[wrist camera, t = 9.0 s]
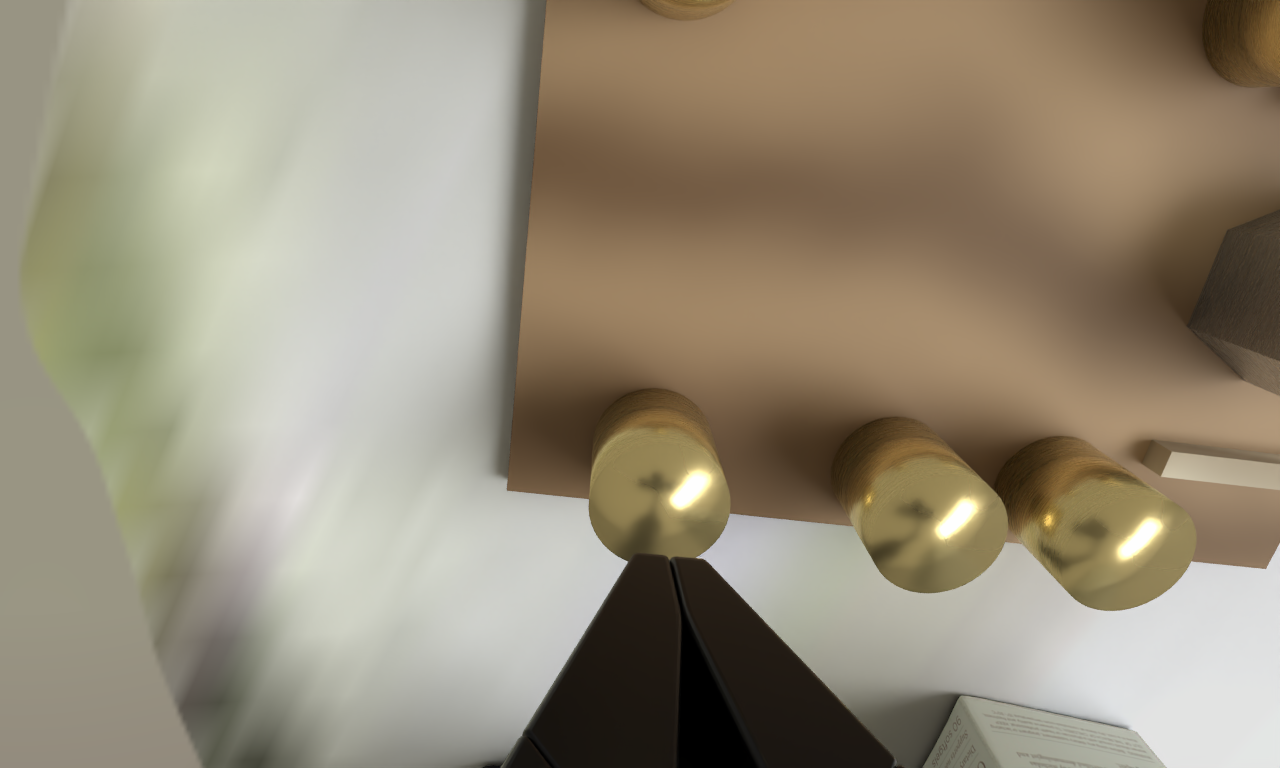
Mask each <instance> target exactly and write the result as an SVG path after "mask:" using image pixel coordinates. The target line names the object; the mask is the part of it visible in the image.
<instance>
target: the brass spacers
mask: <svg viewBox="0 0 1280 768" xmlns="http://www.w3.org/2000/svg"><path fill="white" fill-rule="evenodd" d="M639 1H640V2H641V3H642V4H643V5H644V6H646V7H647V8H648V9H650V10H651V11H653V12H655V13H657V14H659V15H661V16H664V17H666V18H670V19H674V20H683V21H690V20H699V19H704V18H707V17H710V16H712V15H715V14H717V13H719V12H720V11H722V10H724V9H725V8H727V7H728V6H729V5H731V4H732V3H733V2H734V1H735V0H639ZM1202 40H1203V45H1204V50H1205V53H1206V56H1207V59H1208V61H1209V63H1210V65H1211V66H1212V67H1213V69H1214V70H1215V71H1216V72H1217V73H1218V74H1219V75H1220V76H1221V77H1222V78H1223V79H1225V80H1226V81H1228V82H1230V83H1232V84H1235V85H1238V86H1242V87H1250V88H1257V87H1280V0H1208V1H1207V5H1206V8H1205V12H1204V17H1203V25H1202ZM831 484H832V488H833V491H834V493H835V495H836V497H837V499H838V501H839V502H840V504H841V506H842V508H843V509H844V511H845V513H846V514H847V516H848V518H849V520H850V521H851V523H852V525H853V527H854V528H855V530H856V532H857V534H858V535H859V537H860V539H861V540H862V542H863V544H864V546H865V547H866V549H867V551H868V553H869V554H870V556H871V558H872V560H873V561H874V563H875V565H876V566H877V568H878V569H879V571H880V572H881V574H882V575H883V576H884V577H885V578H886V579H887V580H889V581H890V582H891V583H893V584H894V585H896V586H898V587H900V588H903V589H905V590H909V591H912V592H918V593H938V592H944V591H948V590H952V589H955V588H957V587H960V586H963V585H965V584H966V583H968V582H970V581H972V580H974V579H975V578H977V577H978V576H979V575H981V574H982V573H983V572H984V571H985V570H986V569H987V568H988V567H989V566H990V565H991V564H992V563H993V562H994V561H995V559H996V558H997V557H998V555H999V553H1000V552H1001V550H1002V548H1003V545H1004V543H1005V540H1006V537H1007V531H1008V529H1009V530H1010V531H1011V533H1012V534H1013V535H1014V536H1015V537H1016V538H1017V539H1018V540H1019V541H1020V542H1021V543H1022V544H1023V545H1024V546H1025V547H1026V548H1027V549H1028V551H1029V552H1030V553H1031V554H1032V555H1033V556H1034V557H1035V558H1036V559H1037V560H1038V561H1039V562H1040V563H1041V564H1042V565H1043V566H1044V567H1045V569H1046V570H1047V571H1048V572H1049V573H1050V574H1051V575H1052V576H1053V577H1054V578H1055V579H1056V580H1057V581H1058V582H1059V583H1060V584H1061V585H1062V586H1063V588H1064V589H1065V590H1066V591H1067V592H1068V593H1069V594H1070V595H1071V596H1072V597H1073V598H1074V599H1075V600H1077V601H1078V602H1080V603H1081V604H1083V605H1085V606H1087V607H1090V608H1093V609H1097V610H1104V611H1117V610H1125V609H1130V608H1134V607H1137V606H1140V605H1142V604H1145V603H1147V602H1149V601H1151V600H1153V599H1155V598H1157V597H1158V596H1160V595H1162V594H1163V593H1164V592H1166V591H1167V590H1168V589H1170V588H1171V587H1172V586H1173V585H1174V584H1175V583H1176V582H1177V581H1178V580H1179V579H1180V578H1181V577H1182V575H1183V574H1184V573H1185V571H1186V570H1187V568H1188V566H1189V564H1190V563H1191V560H1192V558H1193V556H1194V552H1195V548H1196V541H1197V538H1196V530H1195V526H1194V523H1193V521H1192V519H1191V517H1190V516H1189V514H1188V513H1187V512H1186V511H1185V510H1184V509H1183V508H1181V507H1180V506H1179V505H1177V504H1176V503H1174V502H1173V501H1172V500H1170V499H1169V498H1167V497H1166V496H1164V495H1163V494H1161V493H1160V492H1159V491H1157V490H1156V489H1154V488H1153V487H1151V486H1150V485H1149V484H1147V483H1146V482H1144V481H1143V480H1141V479H1140V478H1138V477H1137V476H1136V475H1134V474H1133V473H1131V472H1130V471H1128V470H1127V469H1126V468H1124V467H1123V466H1121V465H1120V464H1118V463H1117V462H1116V461H1114V460H1113V459H1111V458H1110V457H1108V456H1107V455H1105V454H1104V453H1103V452H1101V451H1100V450H1098V449H1097V448H1095V447H1094V446H1093V445H1091V444H1090V443H1088V442H1086V441H1084V440H1082V439H1079V438H1076V437H1070V436H1054V437H1048V438H1044V439H1041V440H1038V441H1036V442H1033V443H1031V444H1029V445H1027V446H1026V447H1024V448H1022V449H1021V450H1020V451H1018V452H1017V453H1016V454H1015V455H1013V456H1012V457H1011V458H1010V459H1009V460H1008V461H1007V462H1006V464H1005V465H1004V466H1003V468H1002V469H1001V471H1000V473H999V474H998V476H997V479H996V481H995V484H994V488H993V489H992V488H991V487H990V486H989V485H988V484H987V483H986V482H985V481H984V480H983V479H982V478H981V477H980V476H979V475H978V474H977V473H976V472H975V471H974V470H973V469H972V468H971V467H970V466H969V465H968V464H967V463H966V462H965V461H964V460H963V459H962V458H961V457H960V456H959V455H958V454H957V453H956V452H955V451H954V450H953V449H952V448H951V447H950V446H949V445H948V444H947V443H946V442H945V441H944V440H943V439H942V438H940V437H939V436H938V435H937V434H936V433H935V432H934V431H933V430H932V429H931V428H930V427H929V426H927V425H926V424H924V423H922V422H920V421H918V420H915V419H912V418H907V417H887V418H881V419H878V420H875V421H872V422H870V423H867V424H865V425H863V426H862V427H860V428H858V429H857V430H856V431H854V432H853V433H852V434H851V435H850V436H849V437H848V438H847V439H846V440H845V441H844V442H843V443H842V445H841V446H840V448H839V449H838V451H837V453H836V455H835V457H834V460H833V463H832V468H831ZM729 514H730V493H729V489H728V485H727V482H726V479H725V476H724V472H723V469H722V466H721V462H720V459H719V456H718V452H717V449H716V446H715V443H714V439H713V436H712V433H711V429H710V426H709V423H708V421H707V419H706V417H705V415H704V414H703V412H702V411H701V410H700V408H699V407H698V406H697V405H696V404H695V403H693V402H692V401H691V400H690V399H688V398H687V397H685V396H683V395H681V394H679V393H677V392H674V391H670V390H666V389H658V388H650V389H642V390H637V391H634V392H631V393H628V394H626V395H624V396H622V397H620V398H619V399H617V400H616V401H615V402H613V403H612V404H611V405H610V406H609V407H608V408H607V409H606V410H605V411H604V413H603V414H602V415H601V417H600V419H599V421H598V423H597V425H596V428H595V431H594V436H593V449H592V465H591V480H590V495H589V516H590V520H591V524H592V526H593V529H594V531H595V533H596V535H597V536H598V538H599V539H600V541H601V542H602V543H603V544H604V545H605V546H606V547H607V548H608V549H609V550H610V551H611V552H613V553H614V554H615V555H617V556H618V557H620V558H622V559H624V560H626V561H629V560H630V558H631V557H632V556H633V555H634V554H635V553H648V554H658V555H665V556H667V557H668V559H669V560H670V559H671V558H672V557H675V556H679V557H689V558H696V557H697V556H699V555H701V554H702V553H704V552H705V551H706V550H708V549H709V548H710V547H711V546H712V545H713V544H714V543H715V542H716V540H717V539H718V538H719V537H720V535H721V534H722V532H723V530H724V528H725V526H726V524H727V521H728V518H729Z"/></svg>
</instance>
